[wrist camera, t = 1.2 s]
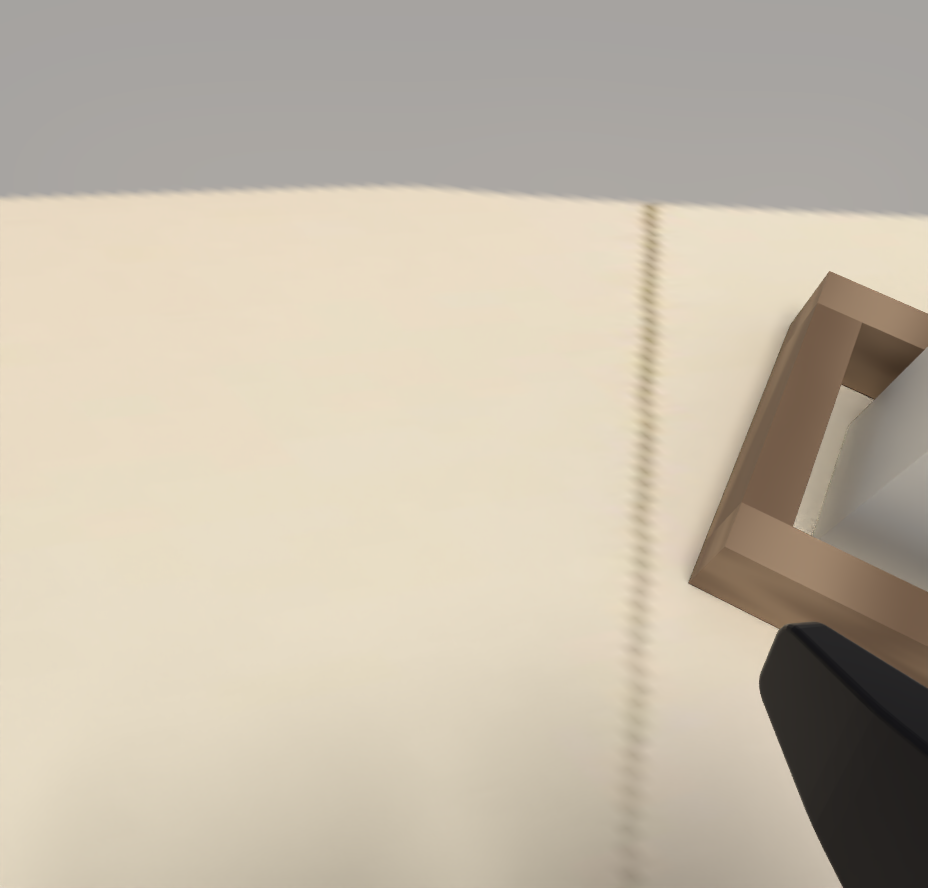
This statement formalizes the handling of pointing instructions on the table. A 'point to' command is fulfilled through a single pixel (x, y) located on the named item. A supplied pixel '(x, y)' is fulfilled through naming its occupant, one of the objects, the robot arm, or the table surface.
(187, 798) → the table surface
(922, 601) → the frame
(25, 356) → the table surface
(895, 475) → the grey parts box
